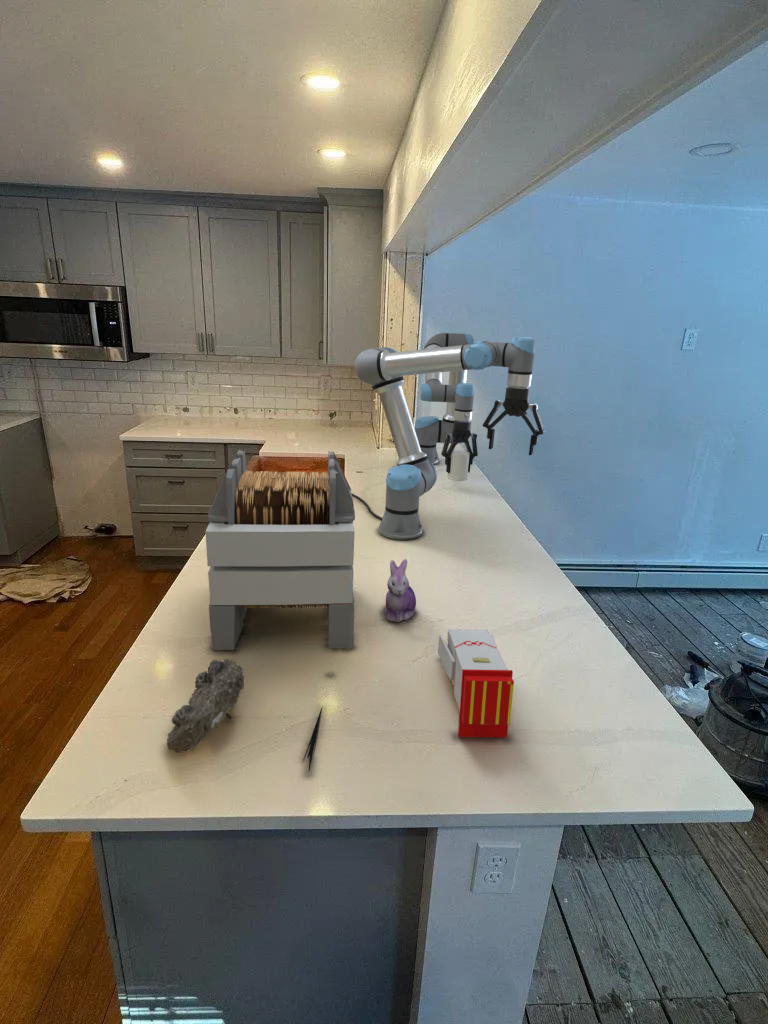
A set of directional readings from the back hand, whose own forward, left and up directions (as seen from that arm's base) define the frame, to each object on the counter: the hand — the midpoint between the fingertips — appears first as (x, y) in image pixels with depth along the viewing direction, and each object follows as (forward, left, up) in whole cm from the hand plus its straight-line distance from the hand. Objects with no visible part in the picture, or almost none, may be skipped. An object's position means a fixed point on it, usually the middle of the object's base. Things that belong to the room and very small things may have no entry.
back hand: (457, 471), depth 249 cm
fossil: (+133, -98, -8) cm, 165 cm away
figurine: (+101, -53, -8) cm, 114 cm away
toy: (+134, -46, -8) cm, 142 cm away
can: (0, 0, -3) cm, 3 cm away
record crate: (+96, -81, -8) cm, 126 cm away
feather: (+137, -78, -8) cm, 158 cm away
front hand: (+55, -4, +23) cm, 60 cm away
